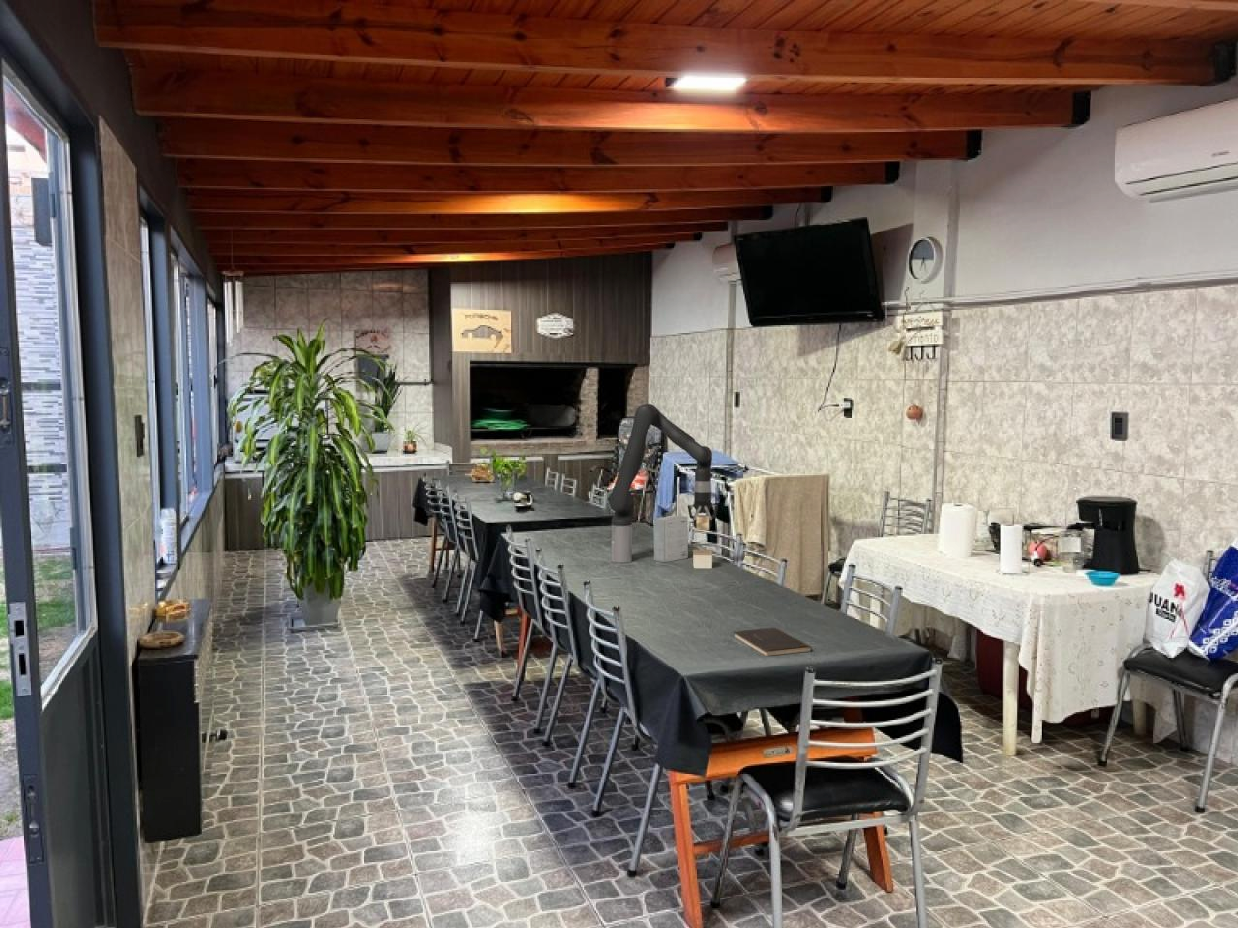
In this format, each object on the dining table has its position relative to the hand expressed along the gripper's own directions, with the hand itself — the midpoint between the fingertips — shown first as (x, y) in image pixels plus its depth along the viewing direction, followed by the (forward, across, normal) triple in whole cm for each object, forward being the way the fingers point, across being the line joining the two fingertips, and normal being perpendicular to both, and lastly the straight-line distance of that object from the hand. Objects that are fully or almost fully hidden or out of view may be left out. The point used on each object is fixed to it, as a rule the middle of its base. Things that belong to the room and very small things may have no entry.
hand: (702, 527), depth 419 cm
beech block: (+1, 0, 0) cm, 1 cm away
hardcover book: (+19, +16, -121) cm, 124 cm away
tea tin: (+18, 0, 0) cm, 18 cm away
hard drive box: (+18, -14, +16) cm, 28 cm away
